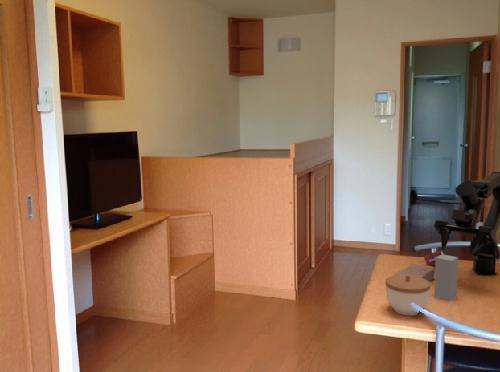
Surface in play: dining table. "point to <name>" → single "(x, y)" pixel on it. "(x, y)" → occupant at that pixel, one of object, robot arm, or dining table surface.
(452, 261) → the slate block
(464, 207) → the robot arm
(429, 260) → the geometric puzzle
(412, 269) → the brick
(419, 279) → the lidded bowl
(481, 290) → the dining table surface
